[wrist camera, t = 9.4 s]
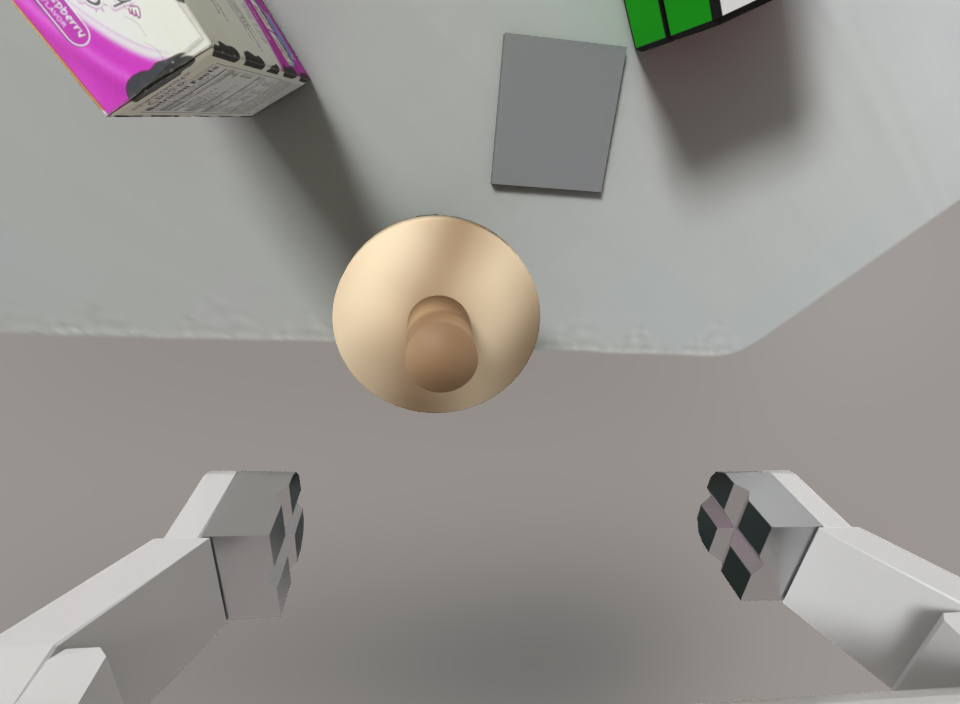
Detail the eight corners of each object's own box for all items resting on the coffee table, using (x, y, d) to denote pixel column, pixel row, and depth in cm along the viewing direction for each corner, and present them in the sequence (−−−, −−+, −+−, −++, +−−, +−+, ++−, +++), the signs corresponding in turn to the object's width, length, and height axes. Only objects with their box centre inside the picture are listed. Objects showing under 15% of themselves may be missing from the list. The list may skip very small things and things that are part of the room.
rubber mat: (623, 48, 32) (626, 47, 32) (598, 191, 36) (601, 192, 35) (503, 34, 31) (505, 32, 30) (490, 182, 35) (491, 183, 34)
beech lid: (548, 223, 23) (580, 248, 19) (521, 403, 27) (542, 460, 23) (333, 206, 22) (309, 229, 17) (338, 398, 26) (320, 459, 21)
